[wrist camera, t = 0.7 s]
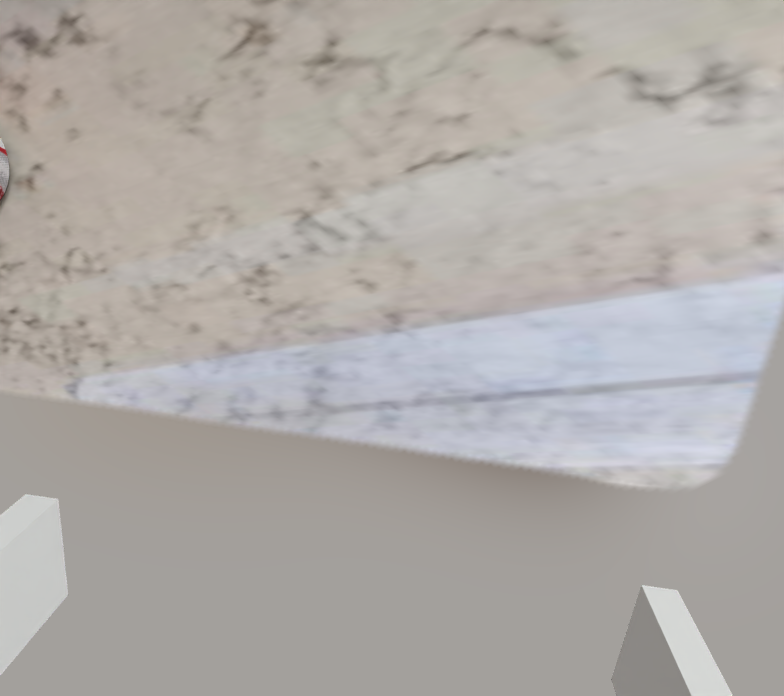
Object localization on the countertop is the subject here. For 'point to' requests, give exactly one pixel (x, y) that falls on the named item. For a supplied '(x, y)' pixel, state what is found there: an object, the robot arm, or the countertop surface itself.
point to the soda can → (3, 169)
